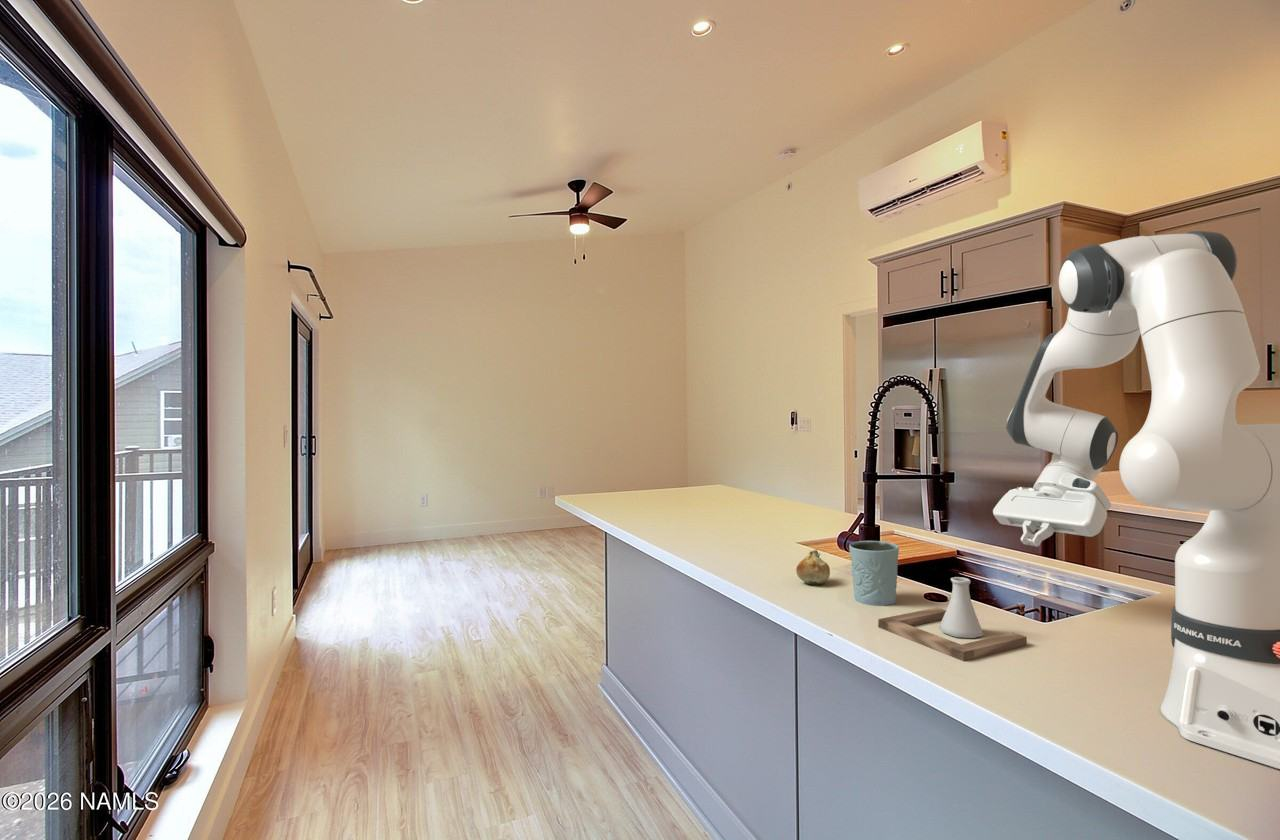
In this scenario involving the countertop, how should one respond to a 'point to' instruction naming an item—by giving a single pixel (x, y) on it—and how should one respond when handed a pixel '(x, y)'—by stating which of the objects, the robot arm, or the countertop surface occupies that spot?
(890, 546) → the blue embossed cup
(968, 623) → the flask
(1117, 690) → the countertop surface
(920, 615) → the walnut bay
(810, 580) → the onion
